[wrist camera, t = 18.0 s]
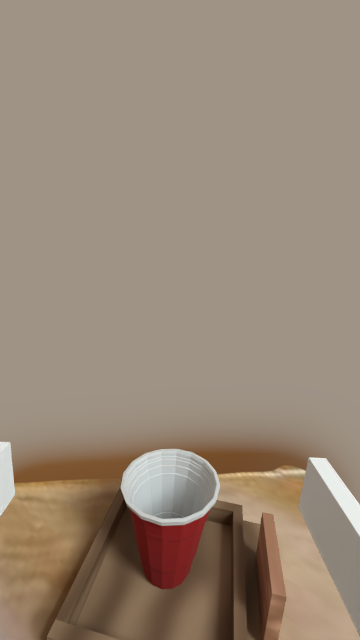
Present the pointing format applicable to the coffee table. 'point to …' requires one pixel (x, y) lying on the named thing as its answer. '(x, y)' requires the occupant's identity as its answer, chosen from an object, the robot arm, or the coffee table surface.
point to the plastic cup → (169, 510)
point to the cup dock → (185, 599)
